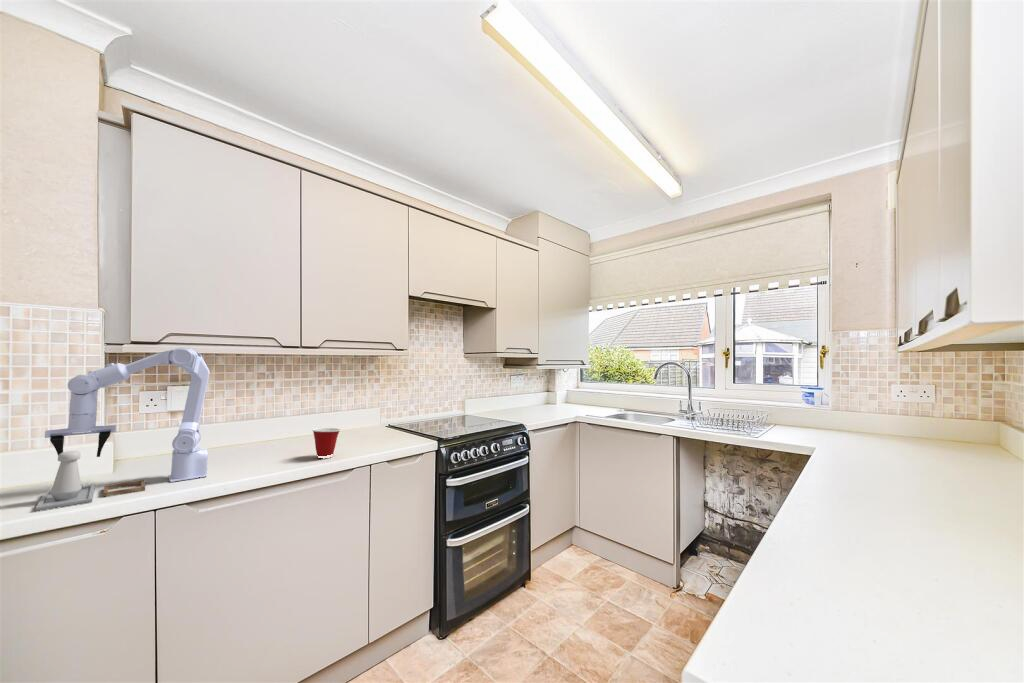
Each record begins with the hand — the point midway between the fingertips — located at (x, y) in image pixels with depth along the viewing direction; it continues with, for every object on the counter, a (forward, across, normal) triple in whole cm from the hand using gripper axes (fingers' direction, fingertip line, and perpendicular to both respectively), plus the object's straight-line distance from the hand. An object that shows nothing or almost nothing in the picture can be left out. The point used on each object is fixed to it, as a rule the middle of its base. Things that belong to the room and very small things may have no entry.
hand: (80, 458), depth 119 cm
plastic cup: (+10, -70, +8) cm, 71 cm away
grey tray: (+9, +2, +10) cm, 14 cm away
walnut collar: (+9, -10, +10) cm, 17 cm away
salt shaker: (+9, +2, +10) cm, 14 cm away
